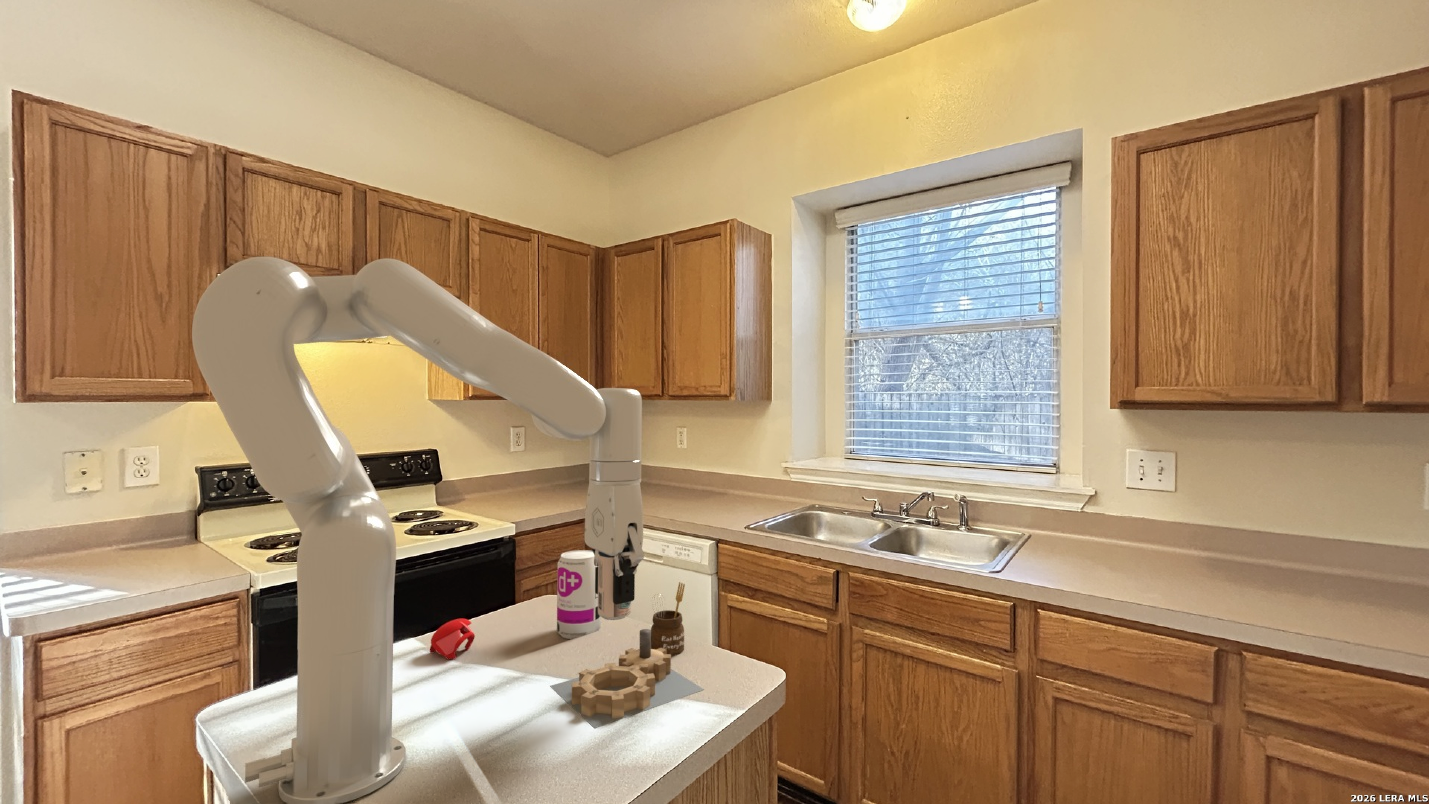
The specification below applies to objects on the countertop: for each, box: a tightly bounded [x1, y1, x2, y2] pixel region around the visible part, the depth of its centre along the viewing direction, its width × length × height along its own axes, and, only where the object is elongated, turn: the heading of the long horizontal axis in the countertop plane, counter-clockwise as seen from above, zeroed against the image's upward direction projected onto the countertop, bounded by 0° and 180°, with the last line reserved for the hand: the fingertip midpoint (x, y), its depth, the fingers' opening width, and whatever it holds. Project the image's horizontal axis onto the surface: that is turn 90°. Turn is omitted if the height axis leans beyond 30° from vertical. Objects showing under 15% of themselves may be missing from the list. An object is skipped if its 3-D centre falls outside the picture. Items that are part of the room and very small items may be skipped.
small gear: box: [618, 628, 672, 681], centre depth 95 cm, size 8×8×6 cm
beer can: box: [598, 547, 632, 621], centre depth 87 cm, size 5×5×12 cm
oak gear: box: [572, 662, 655, 718], centre depth 87 cm, size 12×12×2 cm
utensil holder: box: [650, 581, 686, 657], centre depth 104 cm, size 6×6×12 cm
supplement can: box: [556, 549, 602, 640], centre depth 115 cm, size 8×8×15 cm
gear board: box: [549, 668, 705, 729], centre depth 90 cm, size 18×15×1 cm
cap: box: [429, 618, 476, 660], centre depth 104 cm, size 8×6×6 cm
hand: (614, 596), depth 87 cm, fingers closed on beer can, 4 cm apart
